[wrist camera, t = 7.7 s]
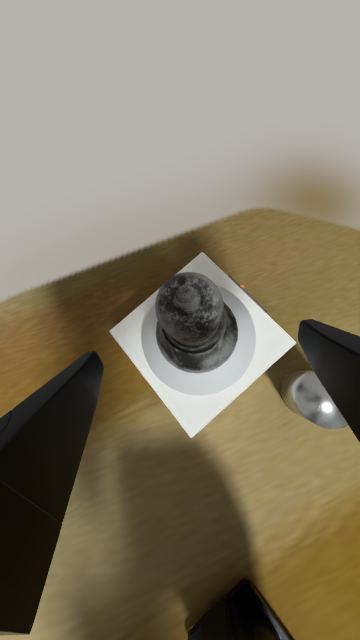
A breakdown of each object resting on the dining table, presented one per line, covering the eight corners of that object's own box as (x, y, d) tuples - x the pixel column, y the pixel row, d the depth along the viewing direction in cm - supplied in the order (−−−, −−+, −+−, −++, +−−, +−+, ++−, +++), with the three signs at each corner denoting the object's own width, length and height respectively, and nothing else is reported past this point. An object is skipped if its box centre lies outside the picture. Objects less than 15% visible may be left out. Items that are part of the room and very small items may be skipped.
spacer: (336, 395, 19) (370, 403, 15) (304, 425, 19) (330, 441, 15) (301, 361, 20) (325, 360, 16) (270, 389, 20) (287, 395, 16)
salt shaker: (218, 296, 19) (240, 187, 7) (242, 359, 17) (315, 351, 6) (157, 316, 19) (82, 243, 8) (175, 380, 18) (118, 411, 6)
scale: (290, 341, 20) (304, 337, 17) (192, 429, 20) (190, 441, 17) (206, 259, 23) (206, 244, 20) (119, 334, 22) (106, 330, 19)
